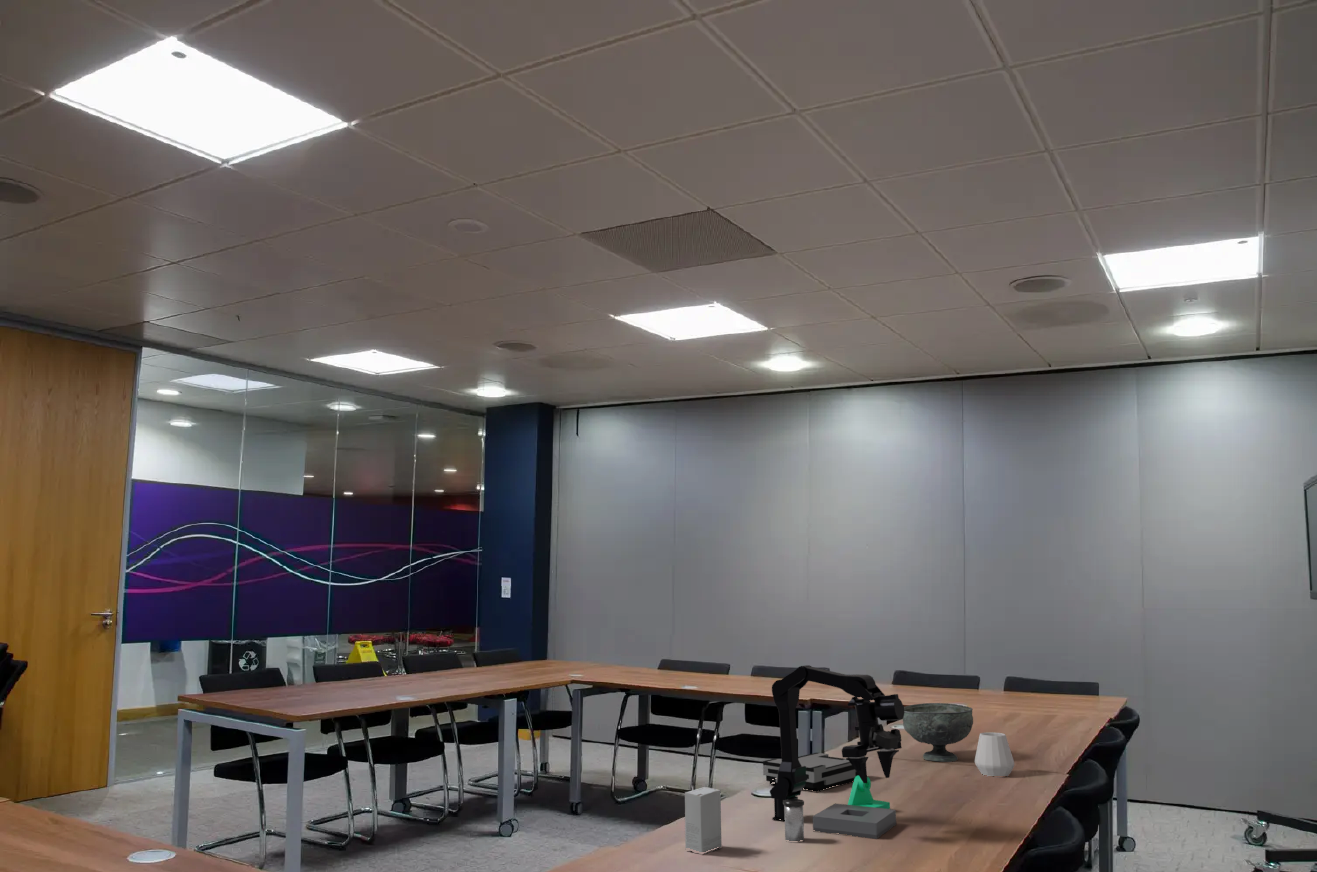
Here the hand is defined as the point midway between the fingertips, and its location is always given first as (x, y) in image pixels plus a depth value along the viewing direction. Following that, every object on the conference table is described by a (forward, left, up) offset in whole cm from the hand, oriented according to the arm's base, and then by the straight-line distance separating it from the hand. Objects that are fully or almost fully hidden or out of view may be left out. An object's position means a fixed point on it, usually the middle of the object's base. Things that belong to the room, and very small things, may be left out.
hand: (876, 780), depth 268 cm
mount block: (-8, +4, -14) cm, 17 cm away
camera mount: (-10, +24, -14) cm, 30 cm away
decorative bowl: (-14, +122, -14) cm, 123 cm away
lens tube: (-18, -16, -14) cm, 28 cm away
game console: (-41, +59, -15) cm, 73 cm away
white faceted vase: (+11, +100, -14) cm, 101 cm away
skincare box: (-35, -36, -14) cm, 52 cm away
